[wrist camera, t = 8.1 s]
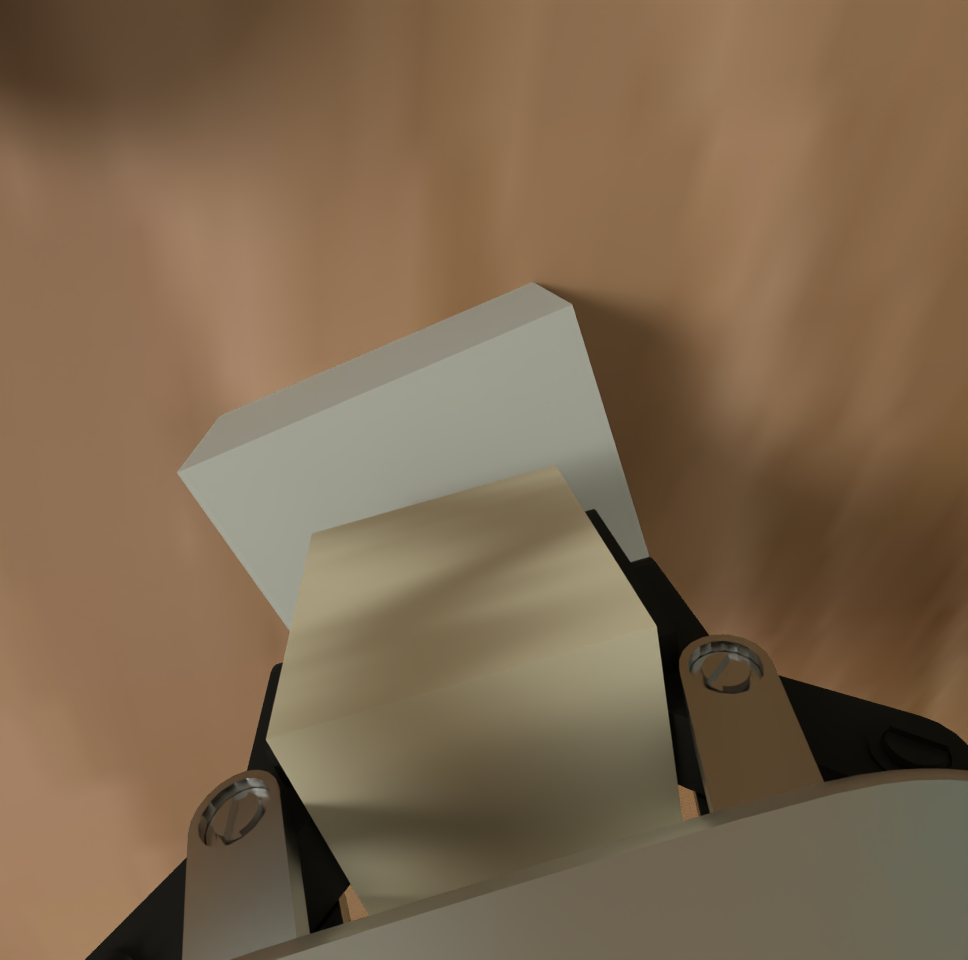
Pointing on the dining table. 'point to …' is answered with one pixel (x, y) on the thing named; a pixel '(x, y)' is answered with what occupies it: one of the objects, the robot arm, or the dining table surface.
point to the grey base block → (412, 436)
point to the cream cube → (471, 692)
